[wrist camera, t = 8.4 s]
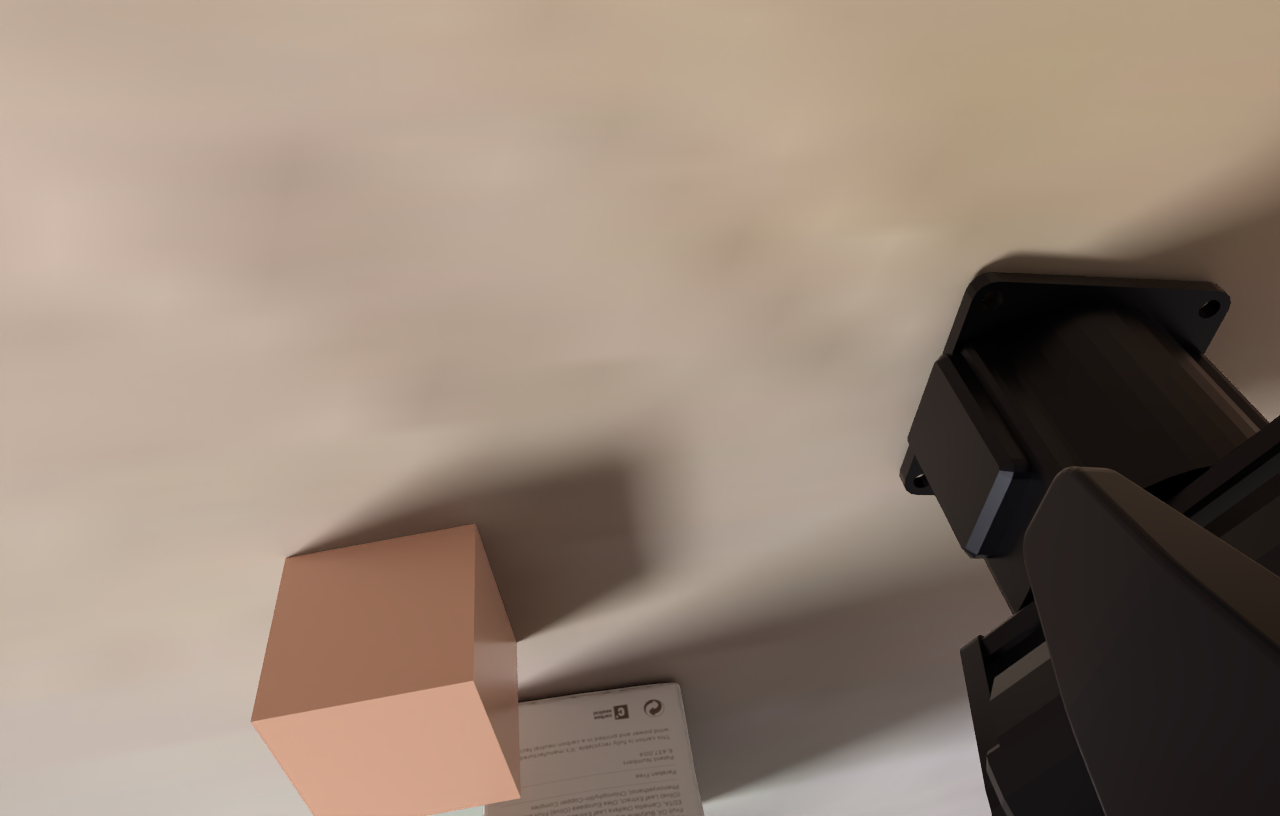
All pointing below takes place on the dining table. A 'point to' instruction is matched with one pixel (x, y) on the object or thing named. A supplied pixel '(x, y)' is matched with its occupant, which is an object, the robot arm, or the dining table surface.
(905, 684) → the dining table surface
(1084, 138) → the dining table surface
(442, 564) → the terracotta cube
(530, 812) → the skincare box
